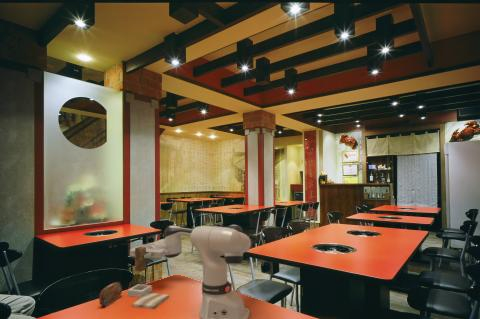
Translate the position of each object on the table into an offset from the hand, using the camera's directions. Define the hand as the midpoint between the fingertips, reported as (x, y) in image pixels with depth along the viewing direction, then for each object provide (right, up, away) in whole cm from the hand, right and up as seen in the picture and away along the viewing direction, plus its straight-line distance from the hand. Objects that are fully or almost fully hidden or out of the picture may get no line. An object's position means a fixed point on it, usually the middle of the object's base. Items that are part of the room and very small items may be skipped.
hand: (139, 256), depth 154 cm
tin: (-11, -19, -11) cm, 25 cm away
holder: (0, -20, -1) cm, 20 cm away
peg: (0, -8, 0) cm, 8 cm away
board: (+10, -19, -11) cm, 24 cm away
